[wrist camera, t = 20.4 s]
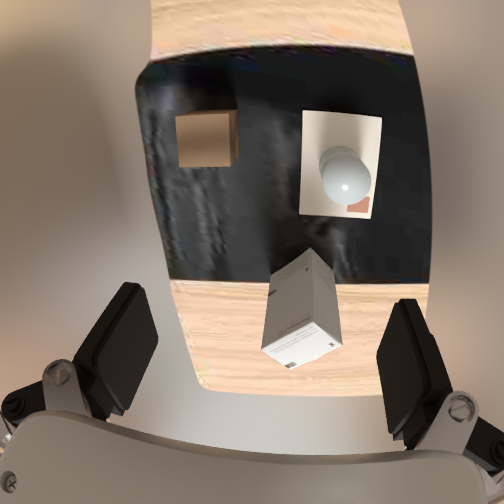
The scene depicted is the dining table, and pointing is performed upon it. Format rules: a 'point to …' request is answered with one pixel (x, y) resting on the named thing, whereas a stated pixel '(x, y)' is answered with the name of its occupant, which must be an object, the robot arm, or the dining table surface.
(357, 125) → the letter
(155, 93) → the dining table surface
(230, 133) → the walnut block
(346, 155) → the grey rounded cylinder
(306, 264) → the skincare box
